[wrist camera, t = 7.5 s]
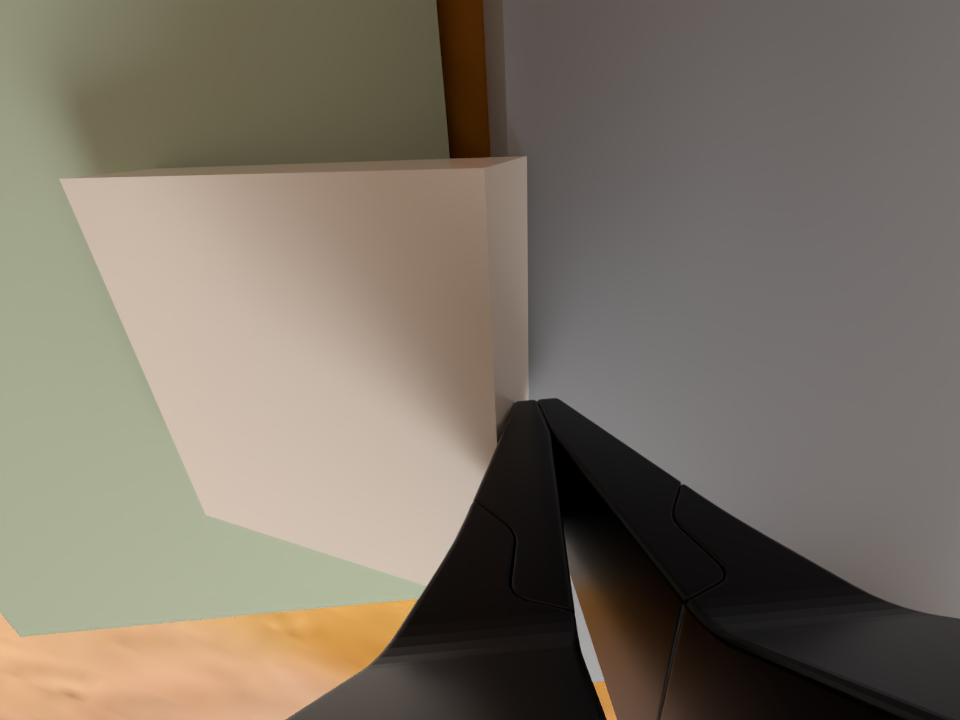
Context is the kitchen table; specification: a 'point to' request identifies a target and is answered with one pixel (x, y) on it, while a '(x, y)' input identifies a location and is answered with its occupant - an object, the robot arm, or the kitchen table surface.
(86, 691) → the kitchen table surface
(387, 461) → the ceramic tile
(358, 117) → the rubber mat
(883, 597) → the gray rectangular block
